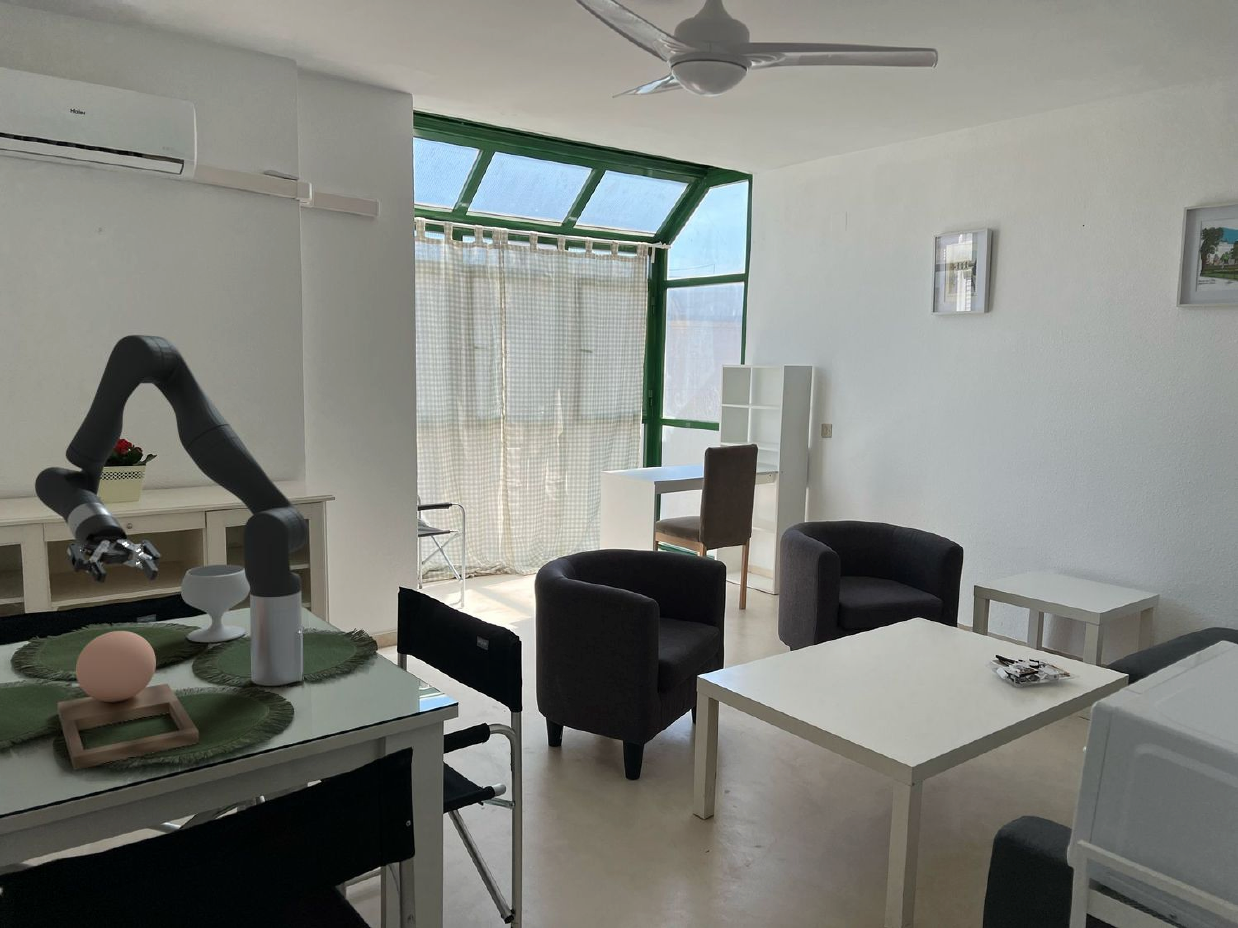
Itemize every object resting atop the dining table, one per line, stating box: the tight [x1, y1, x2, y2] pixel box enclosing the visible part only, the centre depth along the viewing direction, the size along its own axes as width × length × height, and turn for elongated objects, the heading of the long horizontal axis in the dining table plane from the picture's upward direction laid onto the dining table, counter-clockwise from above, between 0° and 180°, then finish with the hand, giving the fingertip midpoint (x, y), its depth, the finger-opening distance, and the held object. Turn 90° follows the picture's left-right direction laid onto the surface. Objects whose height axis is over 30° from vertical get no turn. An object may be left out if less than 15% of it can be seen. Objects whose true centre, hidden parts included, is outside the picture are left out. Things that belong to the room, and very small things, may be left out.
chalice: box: [180, 564, 250, 643], centre depth 194 cm, size 14×14×15 cm
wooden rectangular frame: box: [57, 683, 200, 771], centre depth 143 cm, size 17×26×2 cm, turn 37°
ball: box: [75, 630, 157, 702], centre depth 150 cm, size 12×12×12 cm
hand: (129, 577), depth 155 cm, fingers open, 8 cm apart
